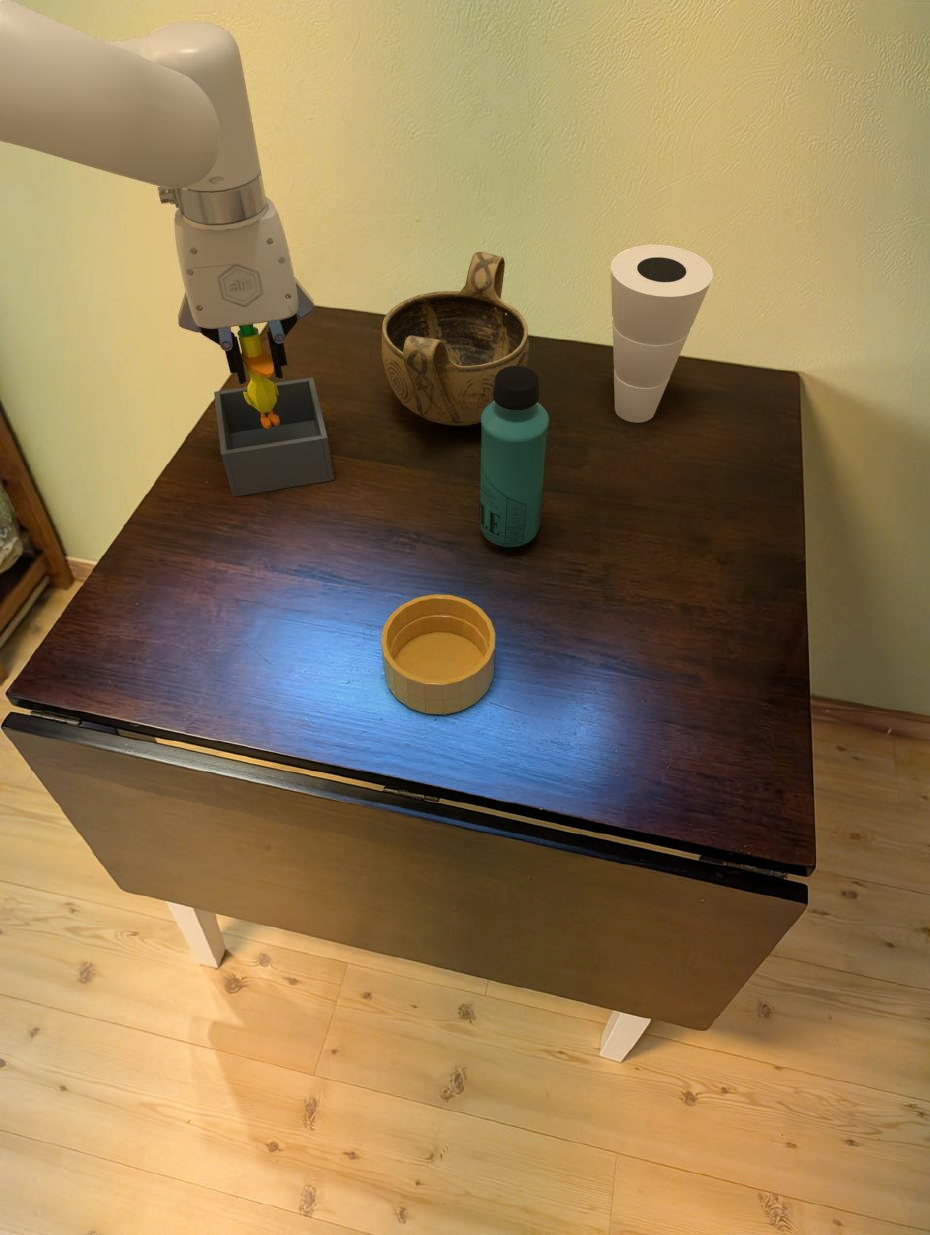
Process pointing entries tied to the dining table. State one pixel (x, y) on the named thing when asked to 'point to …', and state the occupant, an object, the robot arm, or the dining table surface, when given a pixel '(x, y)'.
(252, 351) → the toy figure
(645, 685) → the dining table surface
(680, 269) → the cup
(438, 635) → the mustard bowl
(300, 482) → the grey bin
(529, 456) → the beverage bottle
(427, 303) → the ceramic bowl
